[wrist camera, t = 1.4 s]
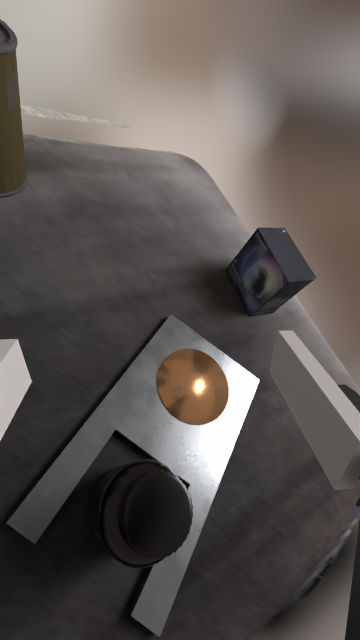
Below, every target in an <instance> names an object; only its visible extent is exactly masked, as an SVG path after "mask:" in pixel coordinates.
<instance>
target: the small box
mask: <svg viewBox="0 0 360 640" xmlns="http://www.w3.org/2000/svg"><path fill="white" fill-rule="evenodd" d="M226 269H227V271H228V273H229V275H230V277H231V279H232V281H233V283H234V286H235V288H236V290H237V292H238V294H239V296H240V298H241V300H242V302H243V304H244V306H245V308H246V310H247V312H248V314H249V316H256V315H262V314H268V313H273V312H275V311H276V310H277V309H278V308H279V307H280V306H282V305H283V304H284V303H285V302H287V301H288V300H289V299H290V298H292V297H293V296H294V295H295V294H297V293H298V292H299V291H300V290H301V289H303V288H304V287H305V286H306V285H308V284H309V283H310V282H312V281H313V280H315V279H316V276H315V275H314V273H313V272H312V270H311V269H310V267H309V266H308V264H307V262H306V261H305V259H304V258H303V256H302V255H301V253H300V252H299V250H298V248H297V247H296V245H295V244H294V242H293V240H292V239H291V237H290V236H289V234H288V233H287V231H286V229H285V228H257V230H256V231H255V232H254V234H253V235H252V236H251V238H250V239H249V240H248V241H247V243H246V244H245V245H244V247H243V248H242V249H241V251H240V252H239V253H238V254H237V256H236V257H235V258H234V259H233V261H232V262H231V263H230V265H229V266H228V267H227V268H226Z"/></svg>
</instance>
